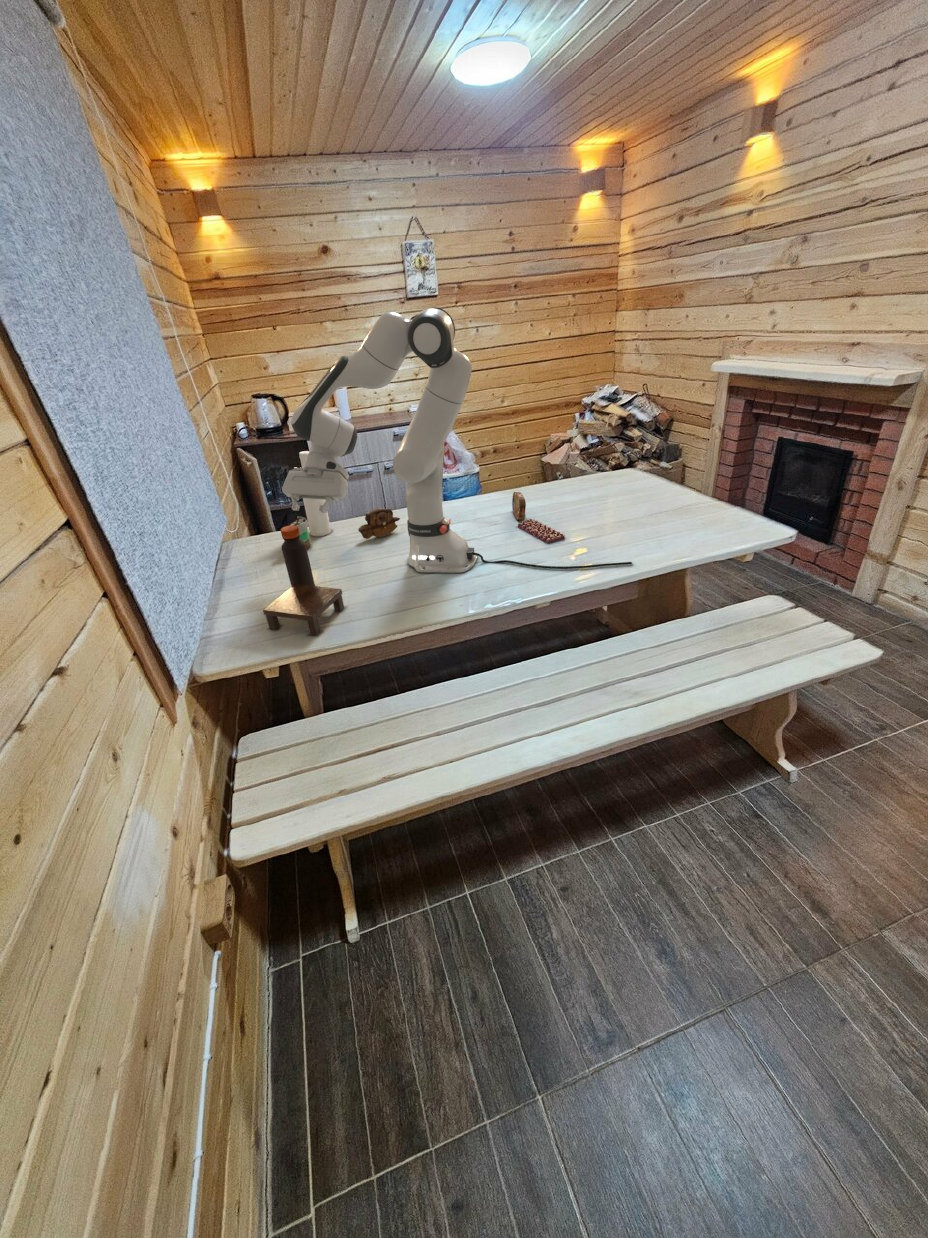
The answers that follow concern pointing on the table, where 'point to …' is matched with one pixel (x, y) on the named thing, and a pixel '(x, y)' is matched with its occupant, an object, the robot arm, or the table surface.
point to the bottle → (315, 510)
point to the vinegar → (296, 557)
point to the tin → (518, 505)
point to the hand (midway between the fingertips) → (308, 511)
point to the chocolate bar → (541, 531)
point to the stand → (304, 605)
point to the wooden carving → (378, 523)
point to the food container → (302, 529)
